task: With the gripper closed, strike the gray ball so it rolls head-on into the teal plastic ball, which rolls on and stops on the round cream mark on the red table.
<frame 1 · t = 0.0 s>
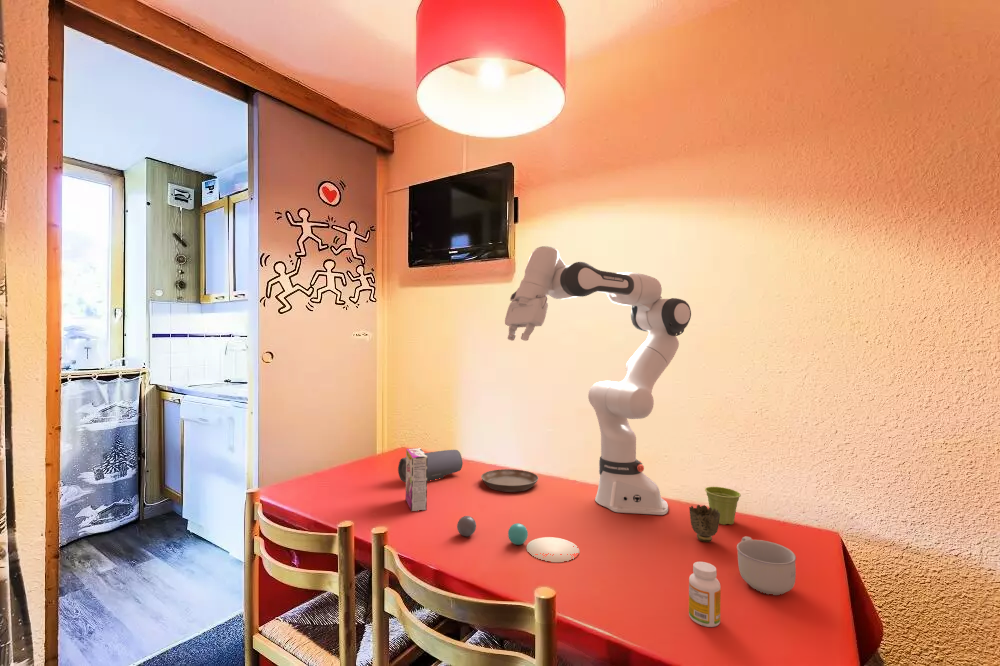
hand: (517, 340, 130), 52 cm above the table, tool tilted 20°, fingers open, 8 cm apart
teacup: (762, 584, 96), on the table
plant pot: (722, 521, 130), on the table
candy bar box: (415, 505, 137), on the table
bluetooth speaker: (430, 480, 163), on the table
teal ball: (517, 533, 112), on the table
supplement bottle: (704, 619, 83), on the table
cup: (704, 540, 116), on the table
cream mark: (552, 549, 109), on the table
gray ball: (466, 526, 116), on the table
plant saucer: (509, 485, 159), on the table
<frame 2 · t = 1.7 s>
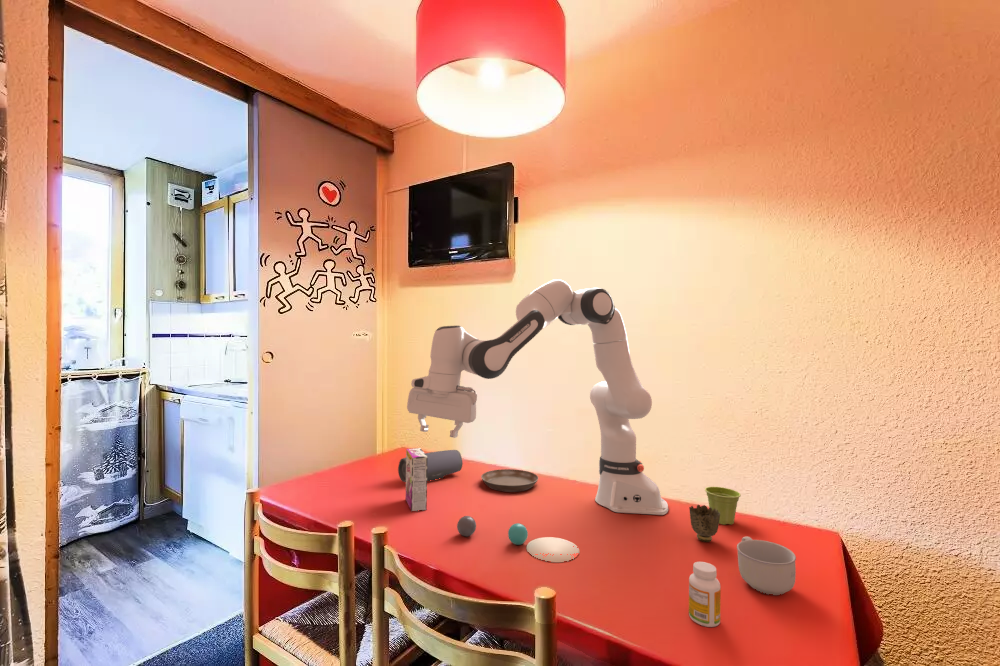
hand: (438, 434, 120), 26 cm above the table, tool pointing down, fingers open, 8 cm apart
nothing on the table moved.
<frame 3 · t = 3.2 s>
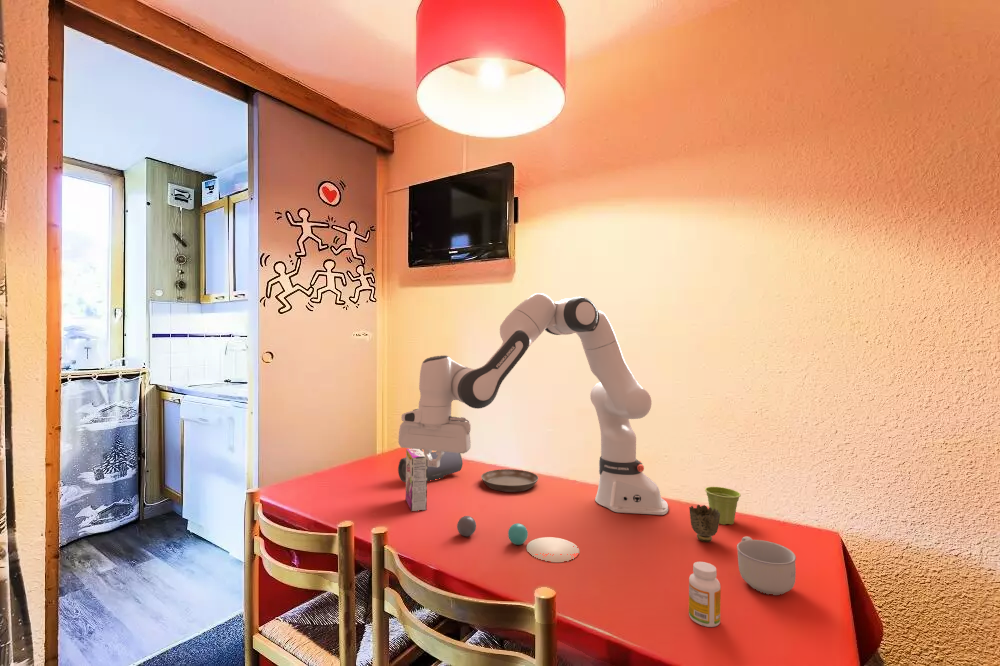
hand: (433, 466, 119), 17 cm above the table, tool pointing down, fingers closed
nothing on the table moved.
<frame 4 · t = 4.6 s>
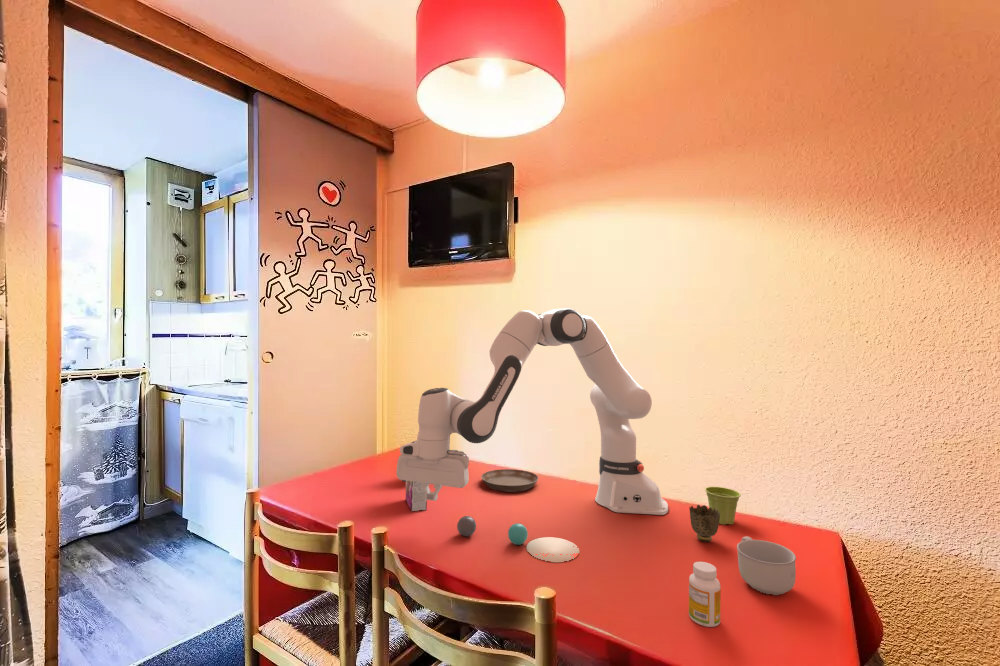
hand: (431, 499, 119), 8 cm above the table, tool pointing down, fingers closed
nothing on the table moved.
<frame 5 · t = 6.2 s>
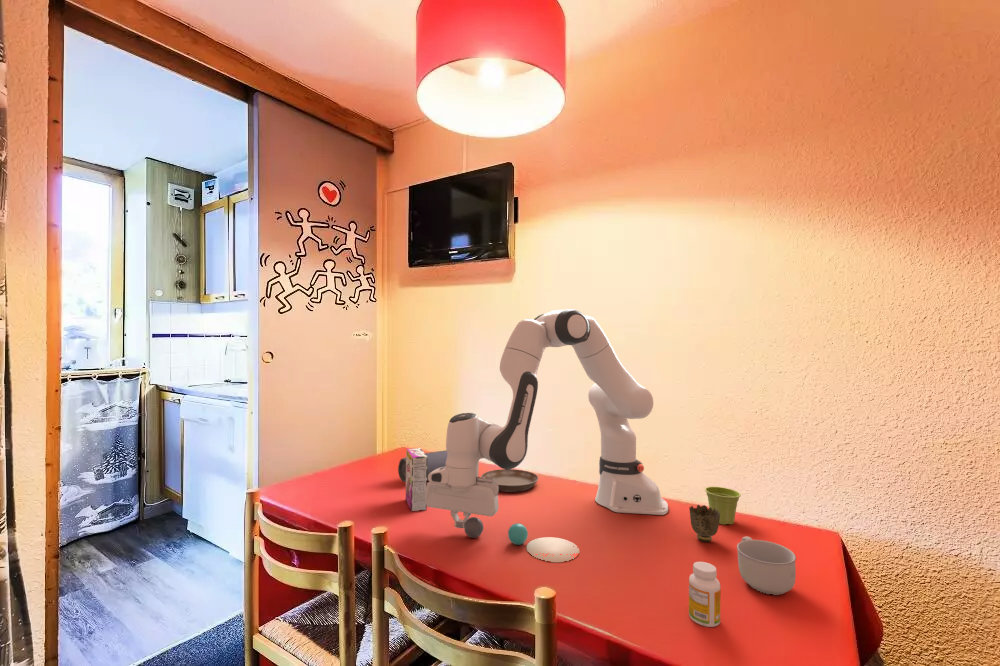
hand: (460, 527, 117), 2 cm above the table, tool pointing down, fingers closed
gray ball: (473, 527, 115), on the table
everything else where it was.
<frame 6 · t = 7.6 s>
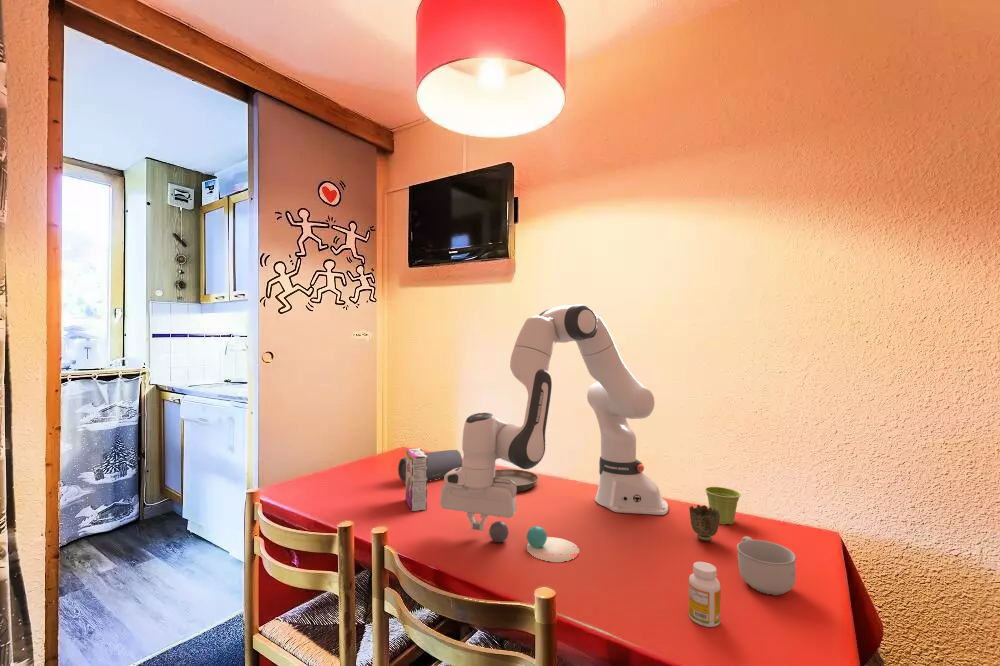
hand: (477, 529, 115), 2 cm above the table, tool pointing down, fingers closed
teal ball: (536, 536, 111), on the table
gray ball: (498, 531, 113), on the table
everything else where it was.
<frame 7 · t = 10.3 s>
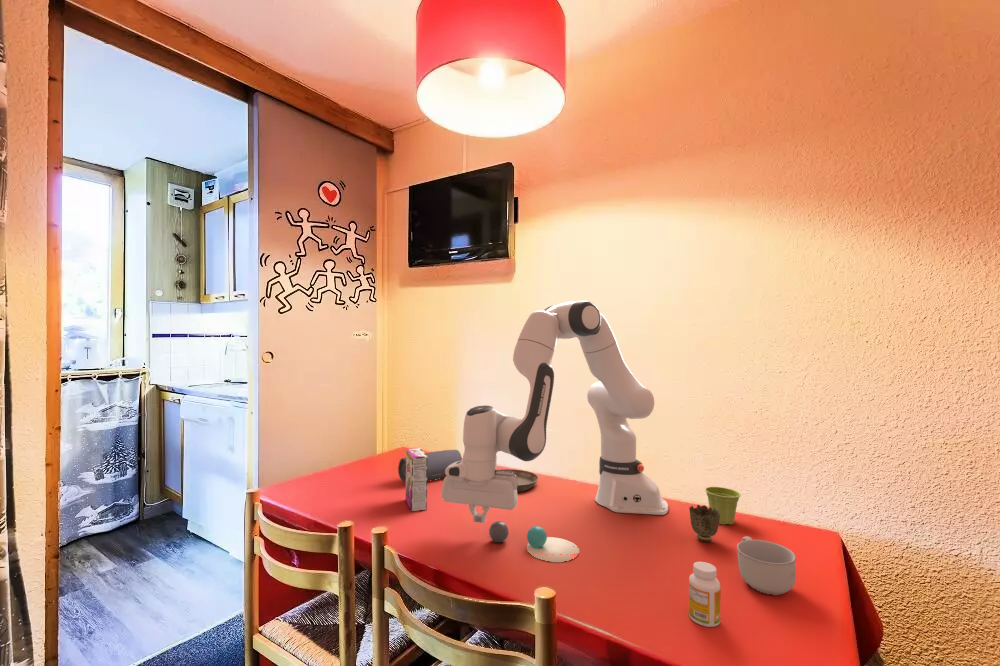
hand: (479, 521, 115), 4 cm above the table, tool pointing down, fingers closed
nothing on the table moved.
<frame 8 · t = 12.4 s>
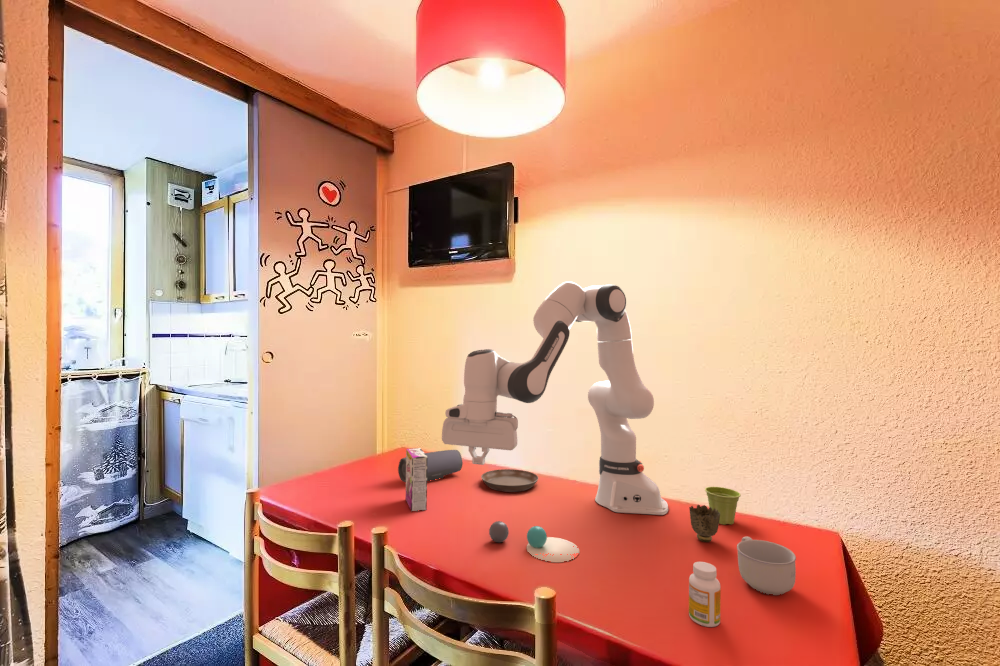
hand: (478, 463, 116), 19 cm above the table, tool pointing down, fingers closed
nothing on the table moved.
at the end: teal ball 4.1 cm from the cream mark (horizontally); teal ball never touched the robot; gray ball first touched teal ball at 6.5 s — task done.
